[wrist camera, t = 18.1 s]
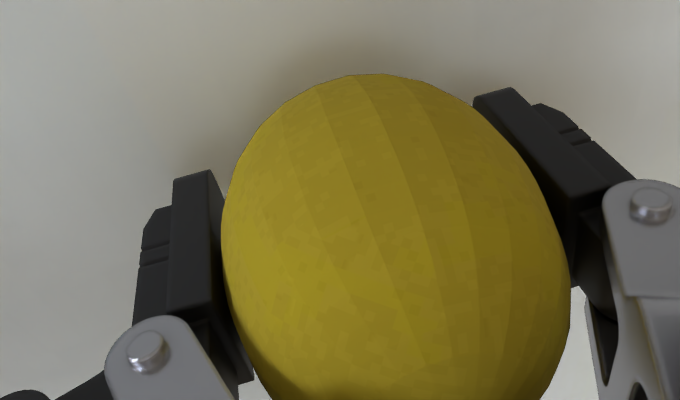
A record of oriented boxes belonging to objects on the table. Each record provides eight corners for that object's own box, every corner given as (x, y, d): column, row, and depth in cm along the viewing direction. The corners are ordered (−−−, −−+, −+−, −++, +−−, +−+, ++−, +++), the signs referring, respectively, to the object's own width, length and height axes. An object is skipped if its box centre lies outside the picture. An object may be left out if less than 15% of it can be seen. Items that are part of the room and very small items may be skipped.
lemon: (460, 0, 11) (782, 267, 5) (438, 206, 15) (612, 515, 8) (192, 26, 10) (183, 381, 4) (233, 237, 14) (263, 604, 8)
